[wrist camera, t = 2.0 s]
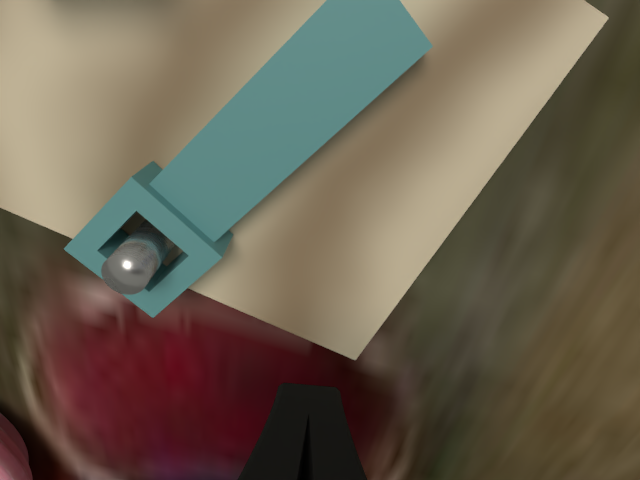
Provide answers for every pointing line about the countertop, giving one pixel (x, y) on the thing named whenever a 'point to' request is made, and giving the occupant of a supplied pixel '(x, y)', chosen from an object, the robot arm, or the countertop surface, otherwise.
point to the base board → (312, 175)
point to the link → (257, 140)
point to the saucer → (13, 453)
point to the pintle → (136, 259)
